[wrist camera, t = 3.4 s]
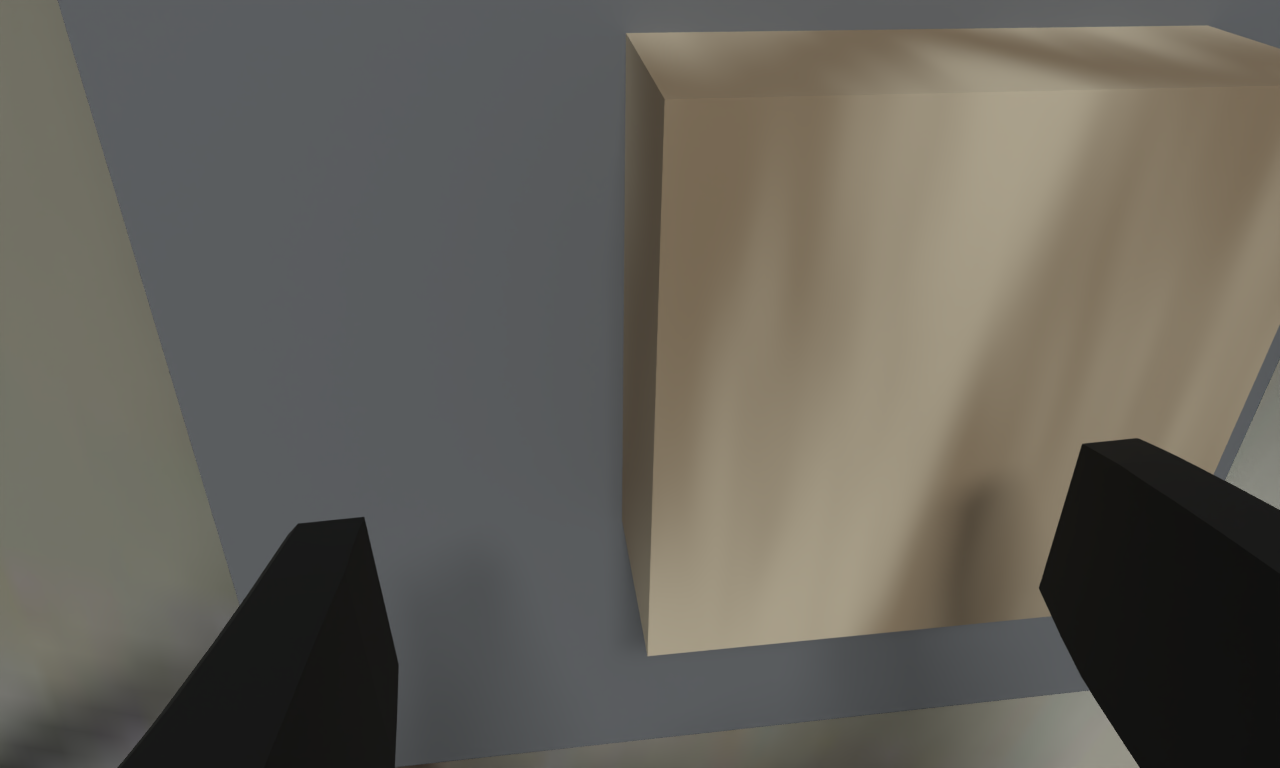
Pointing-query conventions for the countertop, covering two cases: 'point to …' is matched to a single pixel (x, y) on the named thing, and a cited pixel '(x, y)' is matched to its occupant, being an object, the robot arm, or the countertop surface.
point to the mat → (476, 338)
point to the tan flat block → (923, 306)
